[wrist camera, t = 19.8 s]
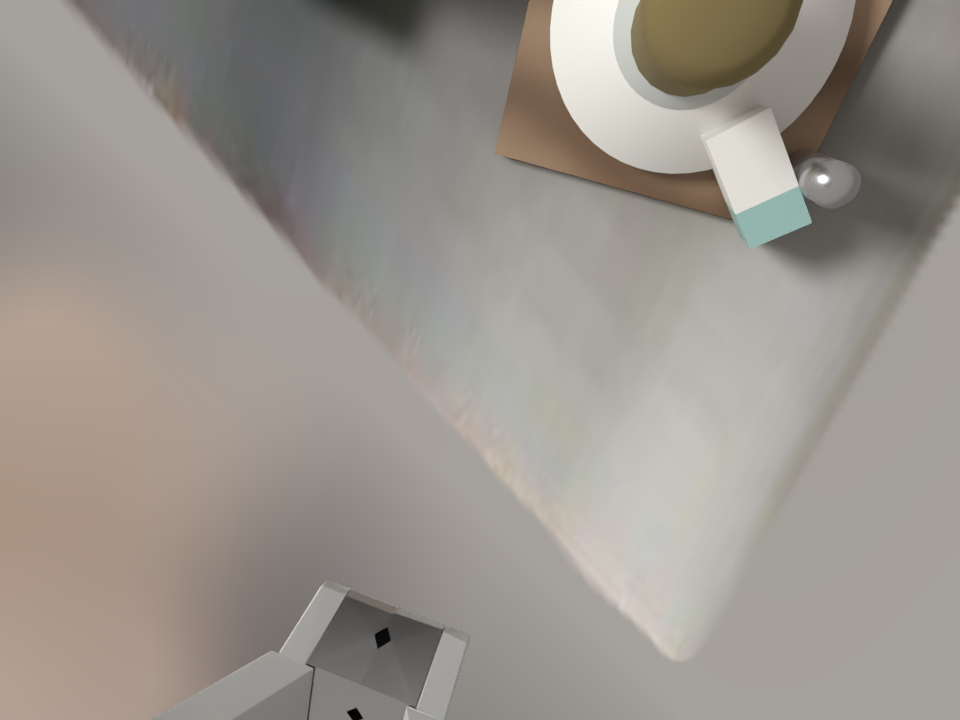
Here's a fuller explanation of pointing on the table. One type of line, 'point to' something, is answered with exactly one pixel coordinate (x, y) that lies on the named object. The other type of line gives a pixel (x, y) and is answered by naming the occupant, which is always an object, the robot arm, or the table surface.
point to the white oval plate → (699, 108)
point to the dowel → (825, 178)
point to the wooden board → (565, 148)
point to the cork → (708, 41)
